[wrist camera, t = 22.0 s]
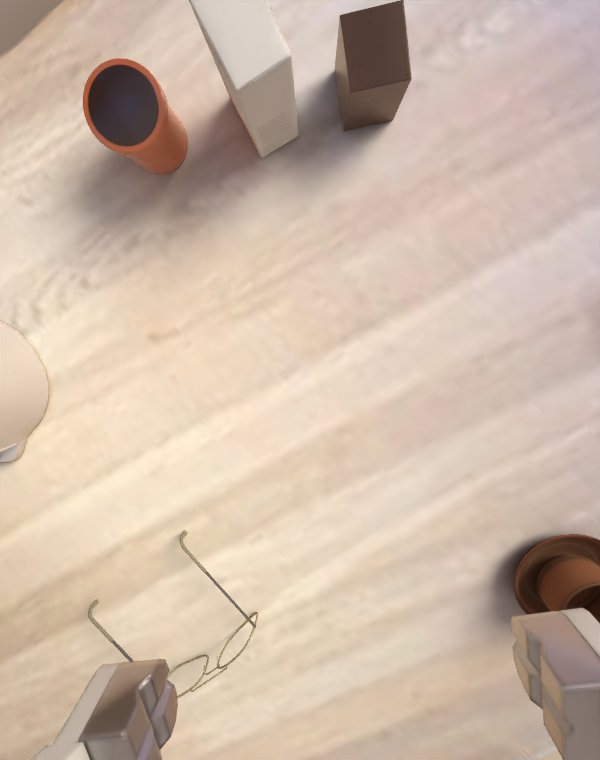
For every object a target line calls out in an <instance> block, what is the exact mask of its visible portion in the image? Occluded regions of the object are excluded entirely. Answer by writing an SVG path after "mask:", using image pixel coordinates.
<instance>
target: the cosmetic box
mask: <svg viewBox="0 0 600 760" xmlns="http://www.w3.org/2000/svg"><path fill="white" fill-rule="evenodd" d="M189 1H190V4H191V6H192V8H193V11H194V13H195V16H196V18H197V20H198V23H199V25H200V27H201V30H202V32H203V34H204V37H205V39H206V42H207V44H208V46H209V49H210V51H211V53H212V56H213V58H214V61H215V63H216V65H217V68H218V70H219V72H220V74H221V77H222V79H223V82H224V84H225V87H226V89H227V91H228V94H229V96H230V98H231V100H232V102H233V104H234V106H235V108H236V110H237V112H238V114H239V115H240V117H241V119H242V121H243V123H244V125H245V127H246V129H247V131H248V133H249V135H250V137H251V139H252V141H253V143H254V145H255V147H256V149H257V151H258V153H259V155H260V157H261V158H263V157H265V156H267V155H268V154H270V153H271V152H273V151H275V150H276V149H278V148H279V147H281V146H283V145H284V144H286V143H288V142H289V141H291V140H293V139H294V138H296V137H297V136H298V135H299V131H298V121H297V110H296V99H295V89H294V79H293V69H292V58H291V53H290V50H289V48H288V46H287V44H286V42H285V40H284V38H283V35H282V33H281V31H280V29H279V27H278V24H277V22H276V20H275V18H274V15H273V12H272V10H271V7H270V5H269V3H268V1H267V0H189Z"/></svg>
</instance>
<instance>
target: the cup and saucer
mask: <svg viewBox="0 0 600 760" xmlns="http://www.w3.org/2000/svg"><path fill="white" fill-rule="evenodd" d="M514 591H515V595H516V598H517V600H518V602H519V604H520V606H521V608H522V609H523V610H524V611H525V612H526V613H527V614H535V613H543V612H550V611H561V610H569V609H577V608H584V609H586V610H587V611H589V612H590V613H591V615H592V616H593V617H594V618H595V619H596V620H597V621H598V622H599V623H600V540H598V539H596V538H593V537H590V536H586V535H579V534H570V535H562V536H557V537H554V538H551V539H548V540H546V541H544V542H542V543H540V544H538V545H537V546H535V547H534V548H533V549H532V550H530V551H529V552H528V553H527V554H526V555H525V557H524V558H523V559H522V561H521V562H520V564H519V566H518V568H517V570H516V573H515V577H514Z"/></svg>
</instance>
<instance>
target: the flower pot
mask: <svg viewBox="0 0 600 760" xmlns="http://www.w3.org/2000/svg"><path fill="white" fill-rule="evenodd" d="M83 108H84V114H85V117H86V120H87V123H88V125H89V127H90V129H91V131H92V132H93V134H94V135H95V136H96V138H97V139H98V140H99V141H100V142H101V143H102V144H104V145H105V146H106V147H108V148H109V149H111V150H112V151H114V152H116V153H118V154H120V155H124V156H128V157H129V158H130V159H132V160H133V161H134V162H136V163H137V164H138V165H140V166H141V167H142V168H143V169H145V170H147V171H148V172H151V173H154V174H167V173H170V172H172V171H174V170H176V169H177V168H178V167H179V166H180V165H181V164H182V162H183V160H184V158H185V156H186V153H187V148H188V139H187V134H186V131H185V128H184V126H183V124H182V123H181V121H180V120H179V119H178V117H177V116H176V115H175V113H174V112H173V111H172V109H171V108H170V107H169V105H168V104H167V100H166V96H165V94H164V92H163V90H162V88H161V86H160V85H159V83H158V82H157V80H156V79H155V78H154V76H153V75H152V74H151V73H150V72H149V71H148V70H147V69H146V68H145V67H144V66H142V65H140V64H139V63H137V62H135V61H132V60H128V59H112V60H109V61H106V62H104V63H102V64H101V65H99V66H98V67H97V68H96V69H95V70H94V71H93V72H92V74H91V75H90V77H89V78H88V80H87V83H86V85H85V89H84V94H83Z"/></svg>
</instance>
